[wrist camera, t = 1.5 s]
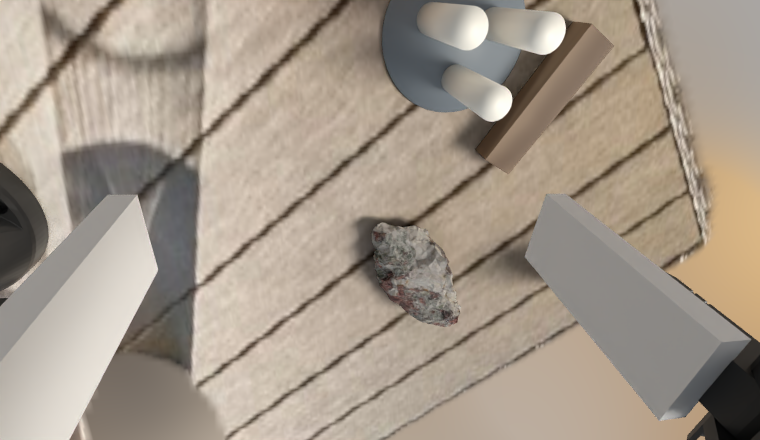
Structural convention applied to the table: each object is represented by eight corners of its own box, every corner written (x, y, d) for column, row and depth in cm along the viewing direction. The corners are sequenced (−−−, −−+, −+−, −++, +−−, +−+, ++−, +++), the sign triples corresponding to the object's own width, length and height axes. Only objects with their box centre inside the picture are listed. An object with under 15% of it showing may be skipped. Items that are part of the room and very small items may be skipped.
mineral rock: (359, 224, 39) (364, 249, 35) (432, 201, 39) (445, 224, 35) (392, 318, 47) (399, 346, 43) (453, 299, 47) (465, 326, 43)
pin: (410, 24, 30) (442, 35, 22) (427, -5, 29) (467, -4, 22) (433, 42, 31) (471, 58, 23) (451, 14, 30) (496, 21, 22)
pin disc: (354, 63, 30) (354, 64, 30) (442, -94, 26) (443, -95, 26) (463, 135, 35) (464, 136, 35) (553, 12, 31) (554, 12, 31)
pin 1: (435, 83, 32) (471, 110, 25) (452, 58, 31) (494, 78, 24) (455, 98, 33) (496, 127, 26) (472, 73, 32) (519, 97, 25)
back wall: (475, 149, 36) (485, 159, 34) (573, 21, 31) (591, 23, 29) (497, 163, 37) (508, 174, 35) (594, 42, 33) (614, 46, 30)
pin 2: (471, 28, 30) (521, 40, 23) (490, 0, 30) (548, 3, 22) (492, 46, 31) (546, 62, 24) (511, 18, 31) (573, 27, 23)
